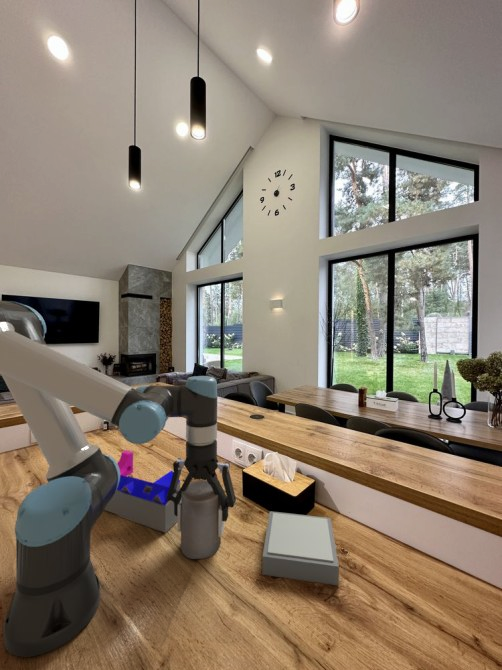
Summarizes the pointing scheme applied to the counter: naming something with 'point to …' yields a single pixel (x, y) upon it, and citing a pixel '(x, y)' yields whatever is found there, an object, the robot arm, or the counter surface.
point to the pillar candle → (199, 521)
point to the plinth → (300, 548)
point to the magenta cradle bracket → (126, 463)
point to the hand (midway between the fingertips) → (201, 530)
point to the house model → (145, 502)
